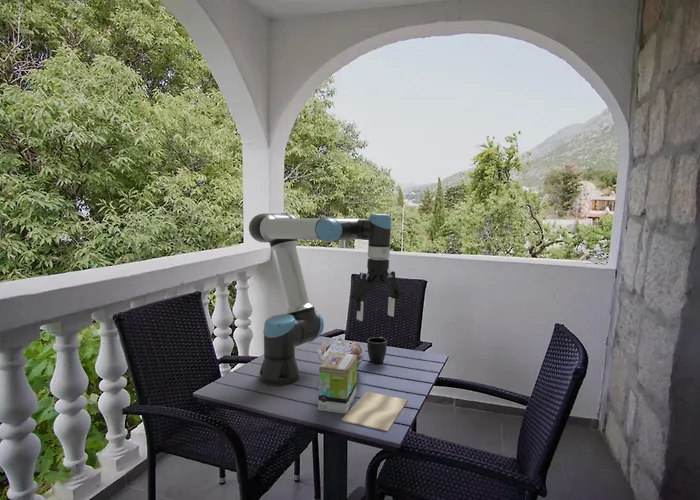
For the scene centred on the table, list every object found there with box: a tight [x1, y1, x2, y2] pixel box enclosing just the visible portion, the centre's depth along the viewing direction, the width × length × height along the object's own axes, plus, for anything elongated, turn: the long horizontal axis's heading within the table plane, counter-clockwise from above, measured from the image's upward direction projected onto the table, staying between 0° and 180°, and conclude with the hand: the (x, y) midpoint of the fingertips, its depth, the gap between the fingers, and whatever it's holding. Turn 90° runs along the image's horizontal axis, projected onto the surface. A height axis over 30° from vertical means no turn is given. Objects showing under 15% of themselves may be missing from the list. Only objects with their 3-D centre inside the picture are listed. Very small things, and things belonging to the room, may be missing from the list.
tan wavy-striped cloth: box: [340, 391, 408, 433], centre depth 135 cm, size 15×22×1 cm
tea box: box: [317, 352, 358, 415], centre depth 140 cm, size 15×10×15 cm
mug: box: [366, 336, 388, 365], centre depth 180 cm, size 8×12×10 cm
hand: (375, 317), depth 148 cm, fingers open, 13 cm apart
